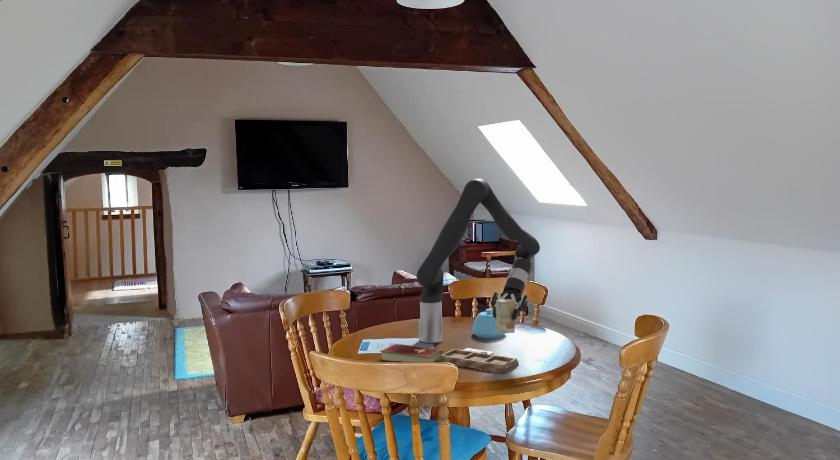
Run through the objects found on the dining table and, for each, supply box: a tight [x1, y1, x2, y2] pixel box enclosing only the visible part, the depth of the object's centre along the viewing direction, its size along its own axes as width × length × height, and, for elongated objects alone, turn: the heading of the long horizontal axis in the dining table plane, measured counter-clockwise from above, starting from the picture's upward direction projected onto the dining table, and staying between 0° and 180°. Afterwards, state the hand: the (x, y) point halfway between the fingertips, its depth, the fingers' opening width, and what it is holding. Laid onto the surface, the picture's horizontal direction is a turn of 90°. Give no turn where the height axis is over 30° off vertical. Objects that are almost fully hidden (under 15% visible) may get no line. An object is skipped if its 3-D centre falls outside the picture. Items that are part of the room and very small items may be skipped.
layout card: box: [463, 347, 494, 355], centre depth 254 cm, size 12×7×1 cm, turn 57°
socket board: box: [438, 348, 520, 375], centre depth 239 cm, size 27×13×3 cm, turn 57°
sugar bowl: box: [471, 308, 506, 339], centre depth 282 cm, size 15×15×12 cm
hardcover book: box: [380, 343, 444, 362], centre depth 248 cm, size 12×21×4 cm, turn 62°
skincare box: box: [496, 299, 516, 334], centre depth 240 cm, size 6×4×12 cm
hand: (503, 318), depth 239 cm, fingers closed on skincare box, 7 cm apart
